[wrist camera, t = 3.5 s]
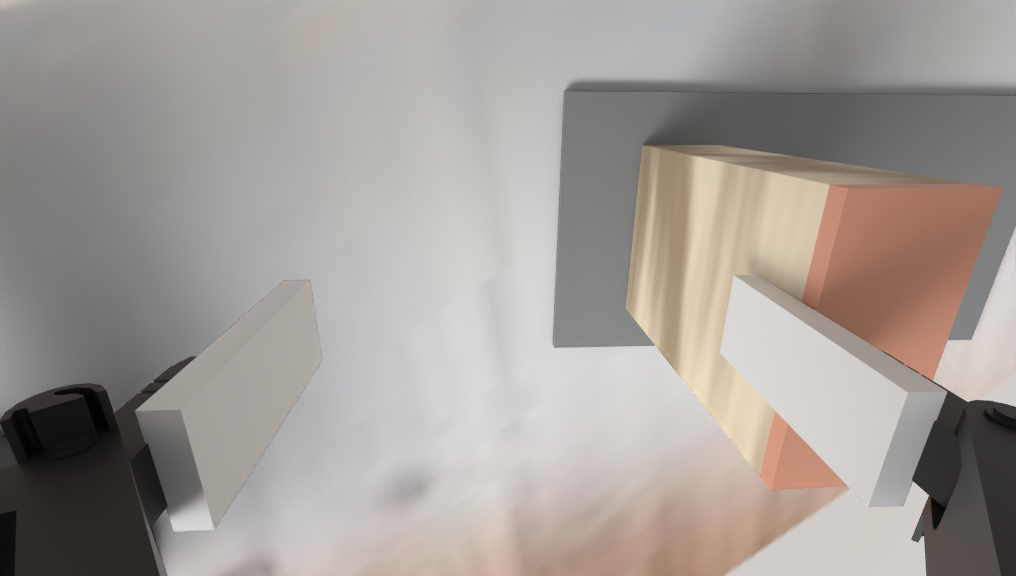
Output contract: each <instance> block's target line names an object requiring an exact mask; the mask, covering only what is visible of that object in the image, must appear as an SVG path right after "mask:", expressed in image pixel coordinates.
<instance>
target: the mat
mask: <svg viewBox="0 0 1016 576" xmlns="http://www.w3.org/2000/svg"><path fill="white" fill-rule="evenodd" d="M642 145H721V146H728V147H735V148H741V149H748V150H755V151H761V152H768V153H775V154H782V155H788V156H795V157H802V158H808V159H815V160H822V161H828V162H835V163H842V164H849V165H855V166H862V167H869V168H875V169H882V170H889V171H896V172H902V173H909V174H916V175H922V176H929V177H936V178H942V179H949V180H956V181H963V182H969V183H976V184H983V185H989V186H996V187H1003V191H1002V193H1001V196H1000V199H999V202H998V204H997V207H996V210H995V212H994V215H993V218H992V221H991V223H990V226H989V229H988V231H987V234H986V237H985V240H984V242H983V245H982V248H981V250H980V253H979V256H978V259H977V261H976V264H975V267H974V269H973V272H972V275H971V278H970V280H969V283H968V286H967V288H966V291H965V294H964V296H963V299H962V302H961V305H960V307H959V310H958V313H957V315H956V318H955V321H954V324H953V326H952V329H951V332H950V334H949V337H948V340H971V339H972V337H973V334H974V331H975V329H976V326H977V324H978V321H979V319H980V316H981V313H982V311H983V308H984V306H985V303H986V301H987V298H988V295H989V293H990V290H991V288H992V285H993V282H994V280H995V277H996V275H997V272H998V270H999V267H1000V264H1001V262H1002V259H1003V257H1004V254H1005V252H1006V249H1007V246H1008V244H1009V241H1010V239H1011V236H1012V234H1013V231H1014V228H1015V226H1016V95H926V94H825V93H723V92H622V91H564V105H563V127H562V149H561V171H560V194H559V216H558V238H557V260H556V282H555V304H554V327H553V345H554V348H558V347H609V346H655V345H654V343H653V342H652V341H651V339H650V338H649V337H648V336H647V334H646V333H645V332H644V331H643V329H642V328H641V327H640V326H639V324H638V323H637V322H636V321H635V319H634V318H633V317H632V316H631V314H630V313H629V312H628V311H627V309H626V299H627V290H628V280H629V270H630V260H631V250H632V241H633V231H634V221H635V211H636V201H637V192H638V182H639V172H640V162H641V152H642Z"/></svg>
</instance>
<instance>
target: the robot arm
mask: <svg viewBox="0 0 1016 576" xmlns="http://www.w3.org/2000/svg"><path fill="white" fill-rule="evenodd" d="M720 354H721V355H722V356H723V357H724V358H725V359H726V360H727V361H728V362H729V363H730V364H731V365H732V366H733V367H734V368H735V369H736V370H737V371H738V372H739V373H740V375H741V376H742V377H743V378H744V379H745V380H746V381H747V382H748V383H749V384H750V385H751V386H752V387H753V388H754V389H755V390H756V391H757V392H758V393H759V394H760V395H761V396H762V397H763V398H764V399H765V401H766V402H767V403H768V404H769V405H770V406H771V407H772V408H773V409H774V410H775V411H776V412H777V413H778V414H779V415H780V416H781V417H782V418H783V419H784V420H785V421H786V422H787V423H788V424H789V426H790V427H791V428H792V429H793V430H794V431H795V432H796V433H797V434H798V435H799V436H800V437H801V438H802V439H803V440H804V441H805V442H806V443H807V444H808V445H809V446H810V447H811V448H812V449H813V450H814V452H815V453H816V454H817V455H818V456H819V457H820V458H821V459H822V460H823V461H824V462H825V463H826V464H827V465H828V466H829V467H830V468H831V469H832V470H833V471H834V472H835V473H836V474H837V475H838V477H839V478H840V479H841V480H842V481H843V482H844V483H845V484H846V485H847V486H848V487H849V488H850V489H851V490H852V491H853V492H854V493H855V494H856V495H857V496H858V497H859V498H860V499H861V500H862V501H863V503H864V504H865V505H866V506H867V507H886V506H904V504H905V501H906V498H907V496H908V493H909V491H910V488H911V486H912V483H913V481H914V482H915V483H916V484H917V485H918V486H919V487H920V488H922V489H923V490H924V491H925V492H926V493H927V494H929V497H928V500H927V502H926V504H925V507H924V509H923V512H922V514H921V517H920V519H919V522H918V524H917V527H916V529H915V532H914V534H913V536H912V540H913V541H916V542H919V540H920V538H921V536H924V541H925V559H926V576H1016V407H1014V406H1010V405H1007V404H1003V403H997V402H993V401H984V400H974V401H970V402H967V401H965V400H963V399H962V398H960V397H958V396H957V395H955V394H953V393H952V392H950V391H949V390H947V389H945V388H944V387H942V386H940V385H939V384H937V383H935V382H934V381H932V380H930V379H929V378H927V377H926V376H924V375H920V374H919V372H917V371H916V370H914V369H912V368H911V367H909V366H905V365H904V363H903V362H901V361H899V360H898V359H896V358H894V357H893V356H891V355H889V354H888V353H886V352H884V351H881V350H879V349H877V348H876V347H874V346H872V345H871V344H869V343H867V342H866V341H864V340H863V339H861V338H859V337H858V336H856V335H854V334H853V333H851V332H850V331H848V330H846V329H845V328H843V327H841V326H840V325H838V324H836V323H835V322H833V321H832V320H830V319H828V318H827V317H825V316H823V315H822V314H820V313H819V312H817V311H815V310H814V309H812V308H810V307H809V306H807V305H806V304H804V303H802V302H801V301H799V300H797V299H796V298H794V297H792V296H791V295H789V294H788V293H786V292H784V291H783V290H781V289H779V288H778V287H776V286H775V285H773V284H771V283H770V282H768V281H766V280H765V279H763V278H762V277H760V276H758V275H734V277H733V282H732V288H731V293H730V299H729V304H728V310H727V315H726V321H725V326H724V332H723V337H722V342H721V348H720ZM321 362H322V355H321V349H320V342H319V335H318V329H317V322H316V315H315V309H314V302H313V295H312V289H311V282H310V280H284V281H283V282H282V283H281V284H280V285H278V286H277V287H276V288H275V289H274V290H273V291H272V292H270V293H269V294H268V295H267V296H266V297H265V298H264V299H262V300H261V301H260V302H259V303H258V304H257V305H256V306H254V307H253V308H252V309H251V310H250V311H249V312H248V313H246V314H245V315H244V316H243V317H242V318H241V319H240V320H238V321H237V322H236V323H235V324H234V325H233V326H231V327H230V328H229V329H228V330H227V331H226V332H225V333H223V334H222V335H221V336H220V337H219V338H218V339H217V340H215V341H214V342H213V343H212V344H211V345H210V346H209V347H207V348H206V349H205V350H204V351H203V352H202V353H201V354H199V355H198V356H197V357H190V358H188V359H186V360H184V361H182V362H180V363H178V364H176V365H174V366H172V367H170V368H168V369H167V370H166V371H165V372H164V373H162V374H161V375H160V376H159V377H157V378H156V379H155V380H154V383H150V384H149V385H148V386H147V387H145V388H144V389H143V390H142V391H141V394H137V395H136V396H135V397H133V398H132V399H131V400H130V401H129V402H127V403H126V404H125V405H124V406H123V407H121V408H120V409H119V410H118V411H117V412H115V413H114V412H113V409H112V406H111V403H110V400H109V397H108V394H107V392H106V390H105V389H104V388H103V387H102V386H101V385H96V384H90V383H89V384H75V385H69V386H65V387H60V388H55V389H52V390H49V391H46V392H43V393H40V394H37V395H34V396H32V397H30V398H28V399H26V400H24V401H22V402H20V403H18V404H16V405H15V406H13V407H12V408H11V409H9V410H8V411H7V412H5V413H4V415H3V416H2V418H1V420H0V424H1V426H2V429H3V431H4V433H5V435H6V437H0V576H167V573H166V569H165V566H164V563H163V559H162V556H161V552H160V549H159V545H158V542H157V539H156V536H155V533H154V530H153V527H152V525H153V524H154V522H155V521H156V520H157V519H158V517H159V516H160V515H161V514H162V512H163V511H164V510H165V509H167V513H168V516H169V519H170V522H171V525H172V528H173V531H174V532H177V531H206V530H215V529H216V527H217V525H218V524H219V522H220V521H221V519H222V518H223V516H224V514H225V513H226V511H227V510H228V508H229V506H230V505H231V503H232V502H233V500H234V499H235V497H236V495H237V494H238V492H239V491H240V489H241V488H242V486H243V484H244V483H245V481H246V480H247V478H248V477H249V475H250V473H251V472H252V470H253V469H254V467H255V466H256V464H257V462H258V461H259V459H260V458H261V456H262V455H263V453H264V451H265V450H266V448H267V447H268V445H269V443H270V442H271V440H272V439H273V437H274V436H275V434H276V432H277V431H278V429H279V428H280V426H281V425H282V423H283V421H284V420H285V418H286V417H287V415H288V414H289V412H290V410H291V409H292V407H293V406H294V404H295V403H296V401H297V399H298V398H299V396H300V395H301V393H302V391H303V390H304V388H305V387H306V385H307V384H308V382H309V380H310V379H311V377H312V376H313V374H314V373H315V371H316V369H317V368H318V366H319V365H320V363H321Z"/></svg>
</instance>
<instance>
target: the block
mask: <svg viewBox="0 0 1016 576" xmlns="http://www.w3.org/2000/svg"><path fill="white" fill-rule="evenodd" d="M1002 191H1003V187H996V186H989V185H983V184H976V183H969V182H963V181H956V180H949V179H942V178H936V177H929V176H922V175H916V174H909V173H902V172H896V171H889V170H882V169H875V168H869V167H862V166H855V165H849V164H842V163H835V162H828V161H822V160H815V159H808V158H802V157H795V156H788V155H782V154H775V153H768V152H761V151H755V150H748V149H741V148H735V147H728V146H721V145H642V152H641V162H640V172H639V182H638V192H637V201H636V211H635V221H634V231H633V241H632V250H631V260H630V270H629V280H628V290H627V299H626V309H627V311H628V312H629V313H630V314H631V316H632V317H633V318H634V319H635V321H636V322H637V323H638V324H639V326H640V327H641V328H642V329H643V331H644V332H645V333H646V334H647V336H648V337H649V338H650V339H651V341H652V342H653V343H654V345H655V346H656V347H657V348H658V350H659V351H660V352H661V353H662V355H663V356H664V357H665V358H666V360H667V361H668V362H669V363H670V365H671V366H672V367H673V368H674V370H675V371H676V372H677V373H678V375H679V376H680V377H681V378H682V380H683V381H684V382H685V383H686V385H687V386H688V387H689V388H690V390H691V391H692V392H693V393H694V395H695V396H696V397H697V398H698V400H699V401H700V402H701V403H702V405H703V406H704V407H705V408H706V410H707V411H708V412H709V413H710V415H711V416H712V417H713V418H714V420H715V421H716V422H717V423H718V425H719V426H720V427H721V428H722V430H723V431H724V432H725V434H726V435H727V436H728V437H729V439H730V440H731V441H732V442H733V444H734V445H735V446H736V447H737V449H738V450H739V451H740V452H741V454H742V455H743V456H744V457H745V459H746V460H747V461H748V462H749V464H750V465H751V466H752V467H753V469H754V470H755V471H756V472H757V474H758V475H759V476H760V477H761V479H762V480H763V481H764V482H765V484H766V485H767V486H768V487H769V489H770V490H785V489H802V488H819V487H836V486H847V485H846V484H845V483H844V482H843V481H842V480H841V479H840V478H839V477H838V475H837V474H836V473H835V472H834V471H833V470H832V469H831V468H830V467H829V466H828V465H827V464H826V463H825V462H824V461H823V460H822V459H821V458H820V457H819V456H818V455H817V454H816V453H815V452H814V450H813V449H812V448H811V447H810V446H809V445H808V444H807V443H806V442H805V441H804V440H803V439H802V438H801V437H800V436H799V435H798V434H797V433H796V432H795V431H794V430H793V429H792V428H791V427H790V426H789V424H788V423H787V422H786V421H785V420H784V419H783V418H782V417H781V416H780V415H779V414H778V413H777V412H776V411H775V410H774V409H773V408H772V407H771V406H770V405H769V404H768V403H767V402H766V401H765V399H764V398H763V397H762V396H761V395H760V394H759V393H758V392H757V391H756V390H755V389H754V388H753V387H752V386H751V385H750V384H749V383H748V382H747V381H746V380H745V379H744V378H743V377H742V376H741V375H740V373H739V372H738V371H737V370H736V369H735V368H734V367H733V366H732V365H731V364H730V363H729V362H728V361H727V360H726V359H725V358H724V357H723V356H722V355H721V354H720V348H721V342H722V337H723V332H724V326H725V321H726V315H727V310H728V304H729V299H730V293H731V288H732V282H733V277H734V275H758V276H760V277H762V278H763V279H765V280H766V281H768V282H770V283H771V284H773V285H775V286H776V287H778V288H779V289H781V290H783V291H784V292H786V293H788V294H789V295H791V296H792V297H794V298H796V299H797V300H799V301H801V302H802V303H804V304H806V305H807V306H809V307H810V308H812V309H814V310H815V311H817V312H819V313H820V314H822V315H823V316H825V317H827V318H828V319H830V320H832V321H833V322H835V323H836V324H838V325H840V326H841V327H843V328H845V329H846V330H848V331H850V332H851V333H853V334H854V335H856V336H858V337H859V338H861V339H863V340H864V341H866V342H867V343H869V344H871V345H872V346H874V347H876V348H877V349H879V350H881V351H884V352H886V353H888V354H889V355H891V356H893V357H894V358H896V359H898V360H899V361H901V362H903V363H904V365H905V366H909V367H911V368H912V369H914V370H916V371H917V372H919V374H920V375H924V376H926V377H927V378H929V379H930V380H932V381H933V378H934V375H935V372H936V370H937V367H938V364H939V362H940V359H941V356H942V353H943V351H944V348H945V345H946V343H947V340H948V337H949V334H950V332H951V329H952V326H953V324H954V321H955V318H956V315H957V313H958V310H959V307H960V305H961V302H962V299H963V296H964V294H965V291H966V288H967V286H968V283H969V280H970V278H971V275H972V272H973V269H974V267H975V264H976V261H977V259H978V256H979V253H980V250H981V248H982V245H983V242H984V240H985V237H986V234H987V231H988V229H989V226H990V223H991V221H992V218H993V215H994V212H995V210H996V207H997V204H998V202H999V199H1000V196H1001V193H1002Z"/></svg>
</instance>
